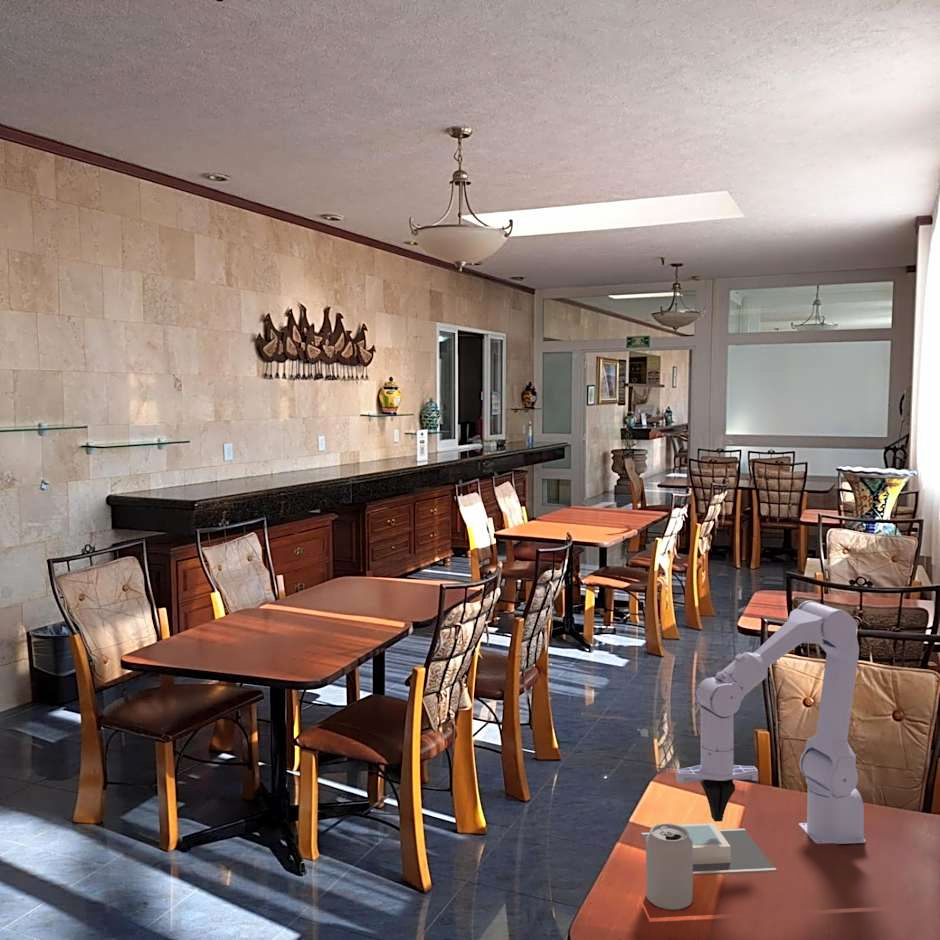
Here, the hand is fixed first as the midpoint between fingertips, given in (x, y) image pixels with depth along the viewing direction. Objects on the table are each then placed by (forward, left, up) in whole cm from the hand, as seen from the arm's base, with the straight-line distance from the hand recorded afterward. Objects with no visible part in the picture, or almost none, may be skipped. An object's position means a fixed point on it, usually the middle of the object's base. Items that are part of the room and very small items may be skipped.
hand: (716, 819), depth 162 cm
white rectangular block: (-1, 0, -4) cm, 5 cm away
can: (+13, +15, -7) cm, 21 cm away
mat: (+2, 0, -6) cm, 7 cm away
